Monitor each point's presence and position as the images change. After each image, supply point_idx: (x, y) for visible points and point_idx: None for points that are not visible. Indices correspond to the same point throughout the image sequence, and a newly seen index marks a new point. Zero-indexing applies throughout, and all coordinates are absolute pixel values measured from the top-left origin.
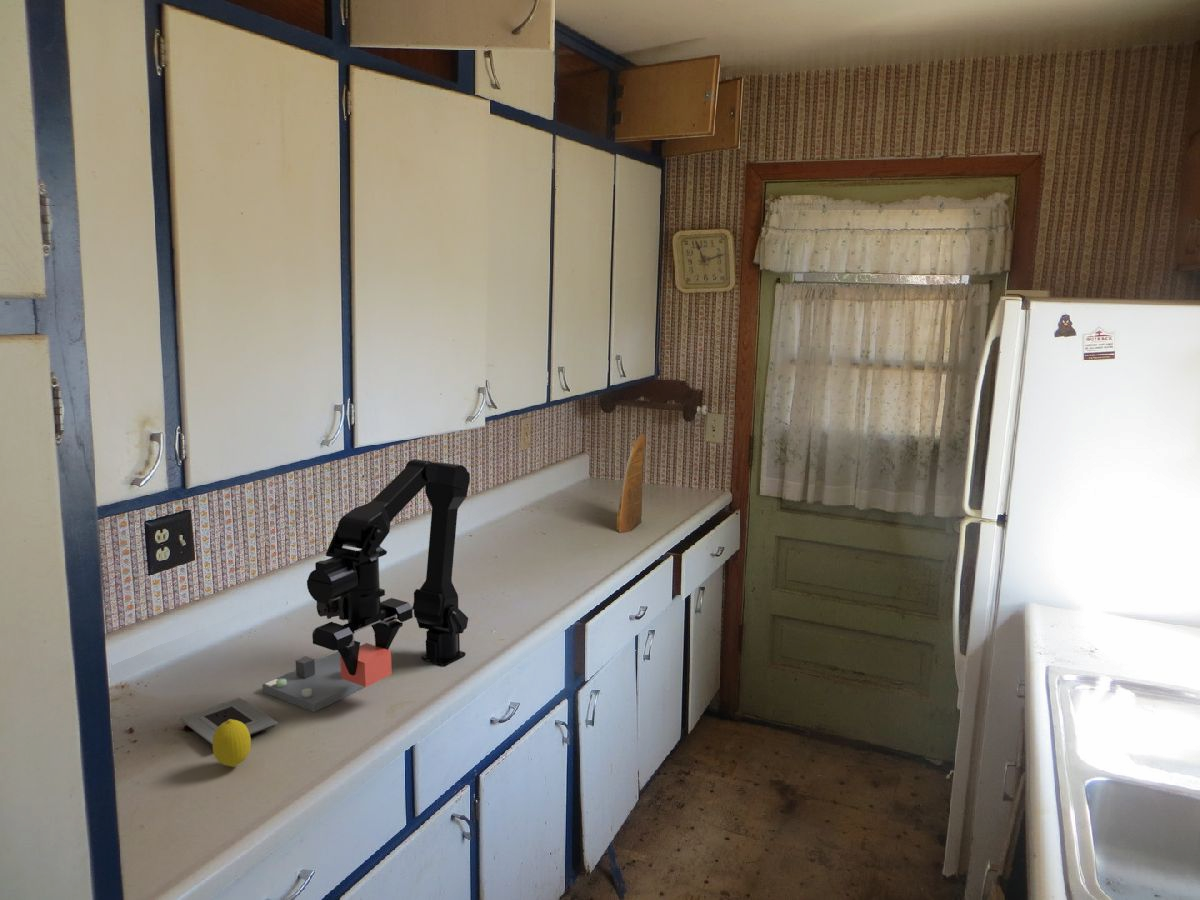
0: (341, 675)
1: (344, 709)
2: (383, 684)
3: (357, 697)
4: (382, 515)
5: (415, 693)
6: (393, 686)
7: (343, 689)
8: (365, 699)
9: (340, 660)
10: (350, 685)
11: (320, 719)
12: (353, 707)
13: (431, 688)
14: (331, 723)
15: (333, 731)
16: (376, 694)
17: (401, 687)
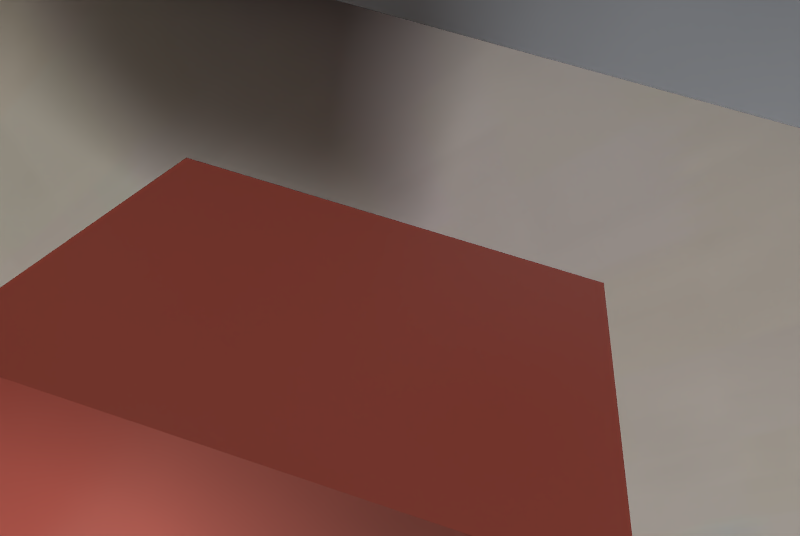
0: (165, 178)
1: (255, 132)
2: (764, 206)
3: (460, 120)
4: None
5: (639, 457)
6: (732, 296)
7: (402, 14)
8: (451, 198)
9: (12, 280)
10: (508, 31)
11: (61, 50)
12: (309, 178)
13: (736, 516)
14: (75, 157)
15: (26, 220)
16: (556, 236)
17: (722, 354)
